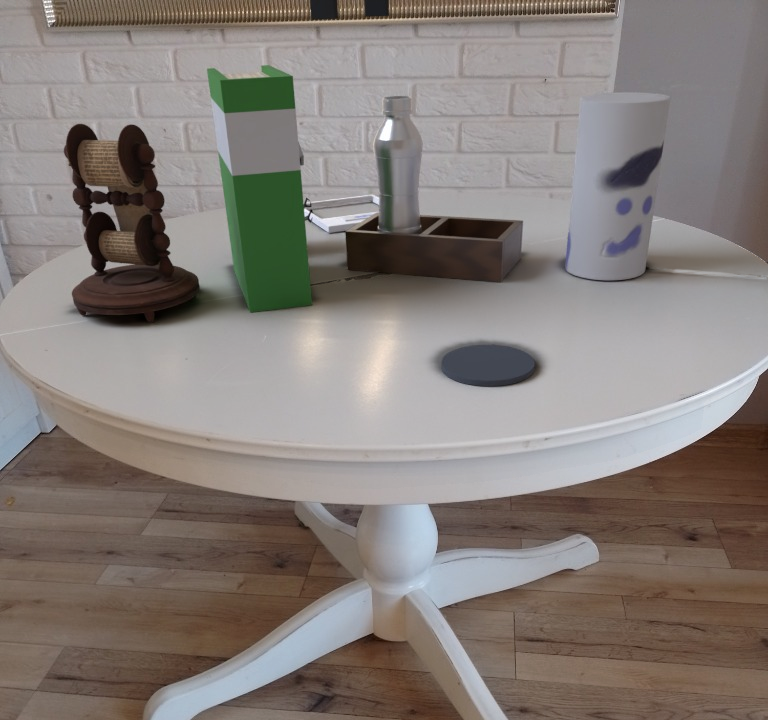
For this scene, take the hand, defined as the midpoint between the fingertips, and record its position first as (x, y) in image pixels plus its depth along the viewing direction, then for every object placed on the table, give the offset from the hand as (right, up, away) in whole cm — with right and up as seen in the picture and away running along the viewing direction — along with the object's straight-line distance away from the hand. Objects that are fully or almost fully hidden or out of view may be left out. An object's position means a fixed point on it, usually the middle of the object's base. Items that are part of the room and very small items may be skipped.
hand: (352, 18), depth 86 cm
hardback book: (-11, -25, +15) cm, 31 cm away
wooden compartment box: (+10, -20, +21) cm, 31 cm away
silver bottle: (+6, -20, +22) cm, 30 cm away
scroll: (-26, -29, +10) cm, 40 cm away
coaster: (+13, -40, -9) cm, 43 cm away
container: (+32, -23, +16) cm, 42 cm away
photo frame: (-2, -5, +46) cm, 46 cm away
